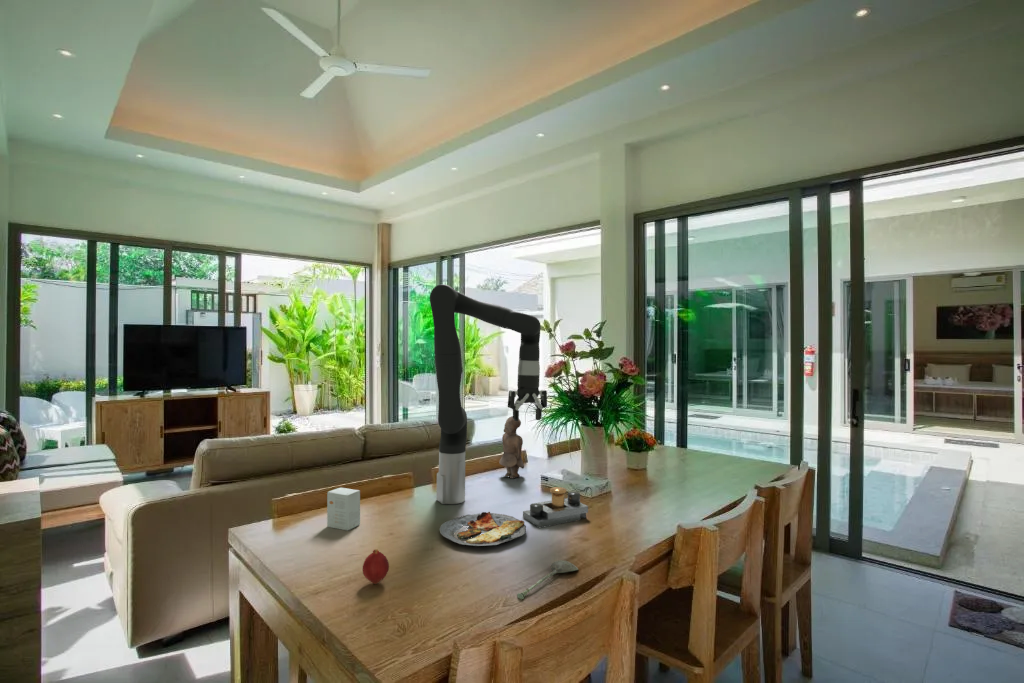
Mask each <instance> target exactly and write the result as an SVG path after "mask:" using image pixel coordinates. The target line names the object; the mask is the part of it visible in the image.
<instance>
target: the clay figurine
mask: <svg viewBox="0 0 1024 683" xmlns="http://www.w3.org/2000/svg"><path fill="white" fill-rule="evenodd" d="M521 425H522V422H521V420H520V418H519V421H514V419H513V415H512V416H509V417H508V418H507V419H506V421H505V424H504V427H503V428H504V429H503V434H502V450H503V454H502V456H501V458H500V459H499V461H498V463H499V465H501V466H502V467H505V469H506V473H505V475H504V476H509V477H510V478H509V479H516V478H519V477H520V476H521V475H520V474H519V473H518V472H519V469H520V468H521V469H524V468H525V464H524V461H523V458H522V448H523V444H524V443H523V442H524V440H523V438H522V436H520V434H519V435H518V433H517V430H518V429H519V428H520V427H521ZM515 477H516V478H515Z"/></svg>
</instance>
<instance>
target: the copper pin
mask: <svg viewBox="0 0 1024 683" xmlns="http://www.w3.org/2000/svg"><path fill="white" fill-rule="evenodd" d="M549 493H550V494H551V501H552V510H554V509H560V508H564V498H565V494H567V488H565V487H562V486H561V487H560V486H556V487H555V486H553V487H551V488H549Z"/></svg>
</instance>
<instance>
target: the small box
mask: <svg viewBox="0 0 1024 683" xmlns="http://www.w3.org/2000/svg"><path fill="white" fill-rule="evenodd" d="M326 497H327V498H326V499H327V500H326V502H327V503H326V506H327V507H326V508H327V510H326V516H327V517H326V519H327V520H326V526H327V527H328V528H333V529H338V530H343V531H350V530H352V529H353V528H355V527H358V526H360V525H361V490H359V489H354V488H353V489H351V488H348V487H347V488H346V487H341V486H340V487H338V488H334V489H332V490H329V491H327V496H326Z"/></svg>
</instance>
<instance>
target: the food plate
mask: <svg viewBox="0 0 1024 683" xmlns="http://www.w3.org/2000/svg"><path fill="white" fill-rule="evenodd" d="M462 525H463V526H469V527H468V528H467V527H466V528H467V529H468V530H466V531H465V530H461V531H462V532H460V529H461V528H462V527H463V526H462ZM526 528H527V525H526V524H525V521H524V520H523V519H521V520H520V519H518V518H516V517H514V516H511V515H509V514H508V515H507V514H504V513H503V514H502V513H501V514H500V513H494V512H491V511H488V512H487V511H481V513H480V512H479V513H475V514H474V513H473V514H466V515H463V516H462V515H461V516H459V517H456V518H452V519H450V520H447V521H445V522H443V523H442V524H441V525H440V527H439V533H440V535H441V536H443V537H444V538H446V539H447V540H449V541H451V542H454V543H457V544H459V545H463V546H465V545H466V546H471V547H475V548H479V547H481V546H482V547H483V546H484V547H485V546H497V545H500V544H503V543H505V542H509V541H512V540H514V539H517V538H519V537H522V536H523V535H525V534H526V533H527V529H526ZM490 530H491V531H490ZM457 531H458V532H457ZM454 533H456V534H454ZM481 533H484V534H481ZM480 534H481V535H480ZM471 537H472V538H471ZM473 537H475V538H473ZM468 538H469V539H468ZM461 539H462V540H461ZM464 539H466V540H465V541H464Z"/></svg>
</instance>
